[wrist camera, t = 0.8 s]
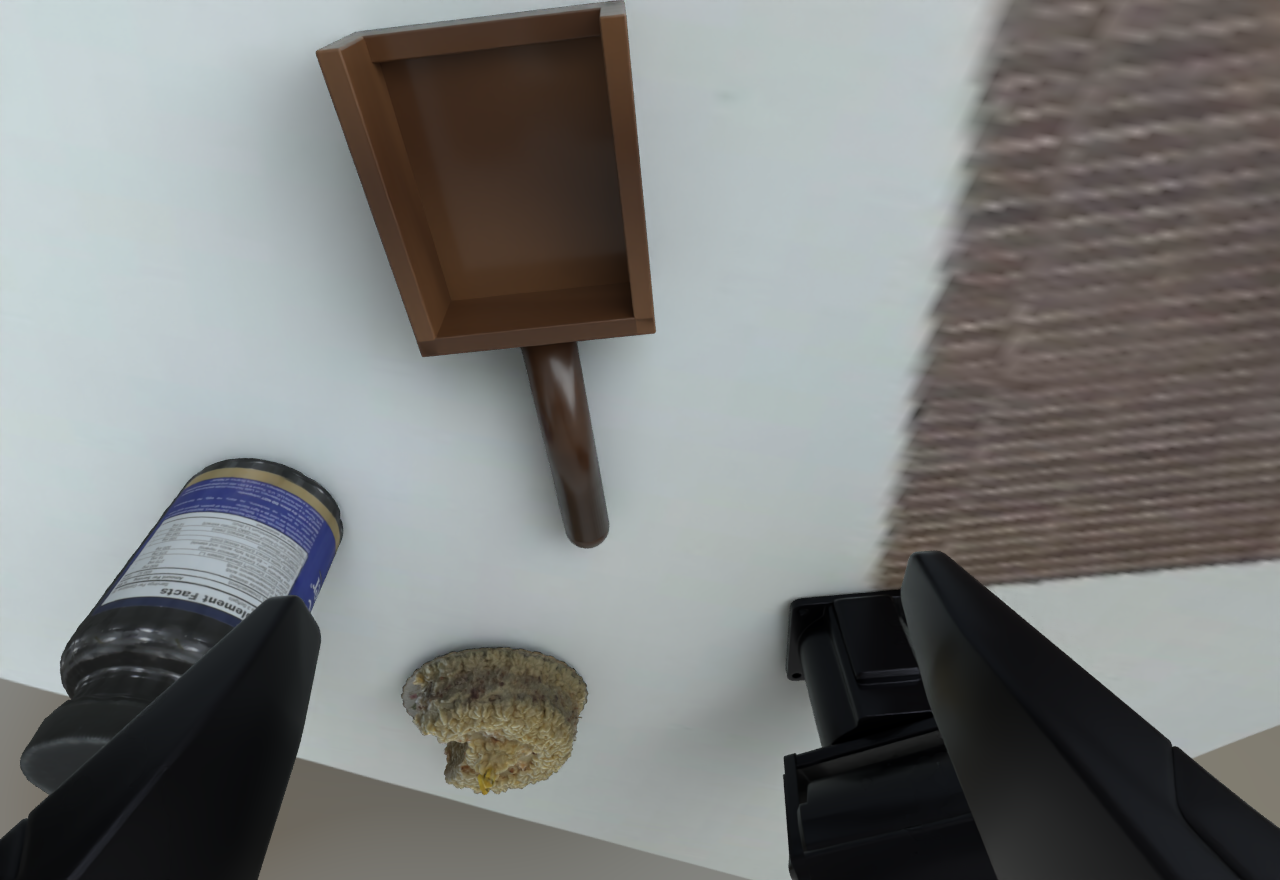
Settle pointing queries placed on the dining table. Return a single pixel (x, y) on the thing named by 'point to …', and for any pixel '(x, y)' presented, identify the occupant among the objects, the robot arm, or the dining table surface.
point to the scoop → (509, 200)
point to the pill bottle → (185, 600)
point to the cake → (497, 715)
